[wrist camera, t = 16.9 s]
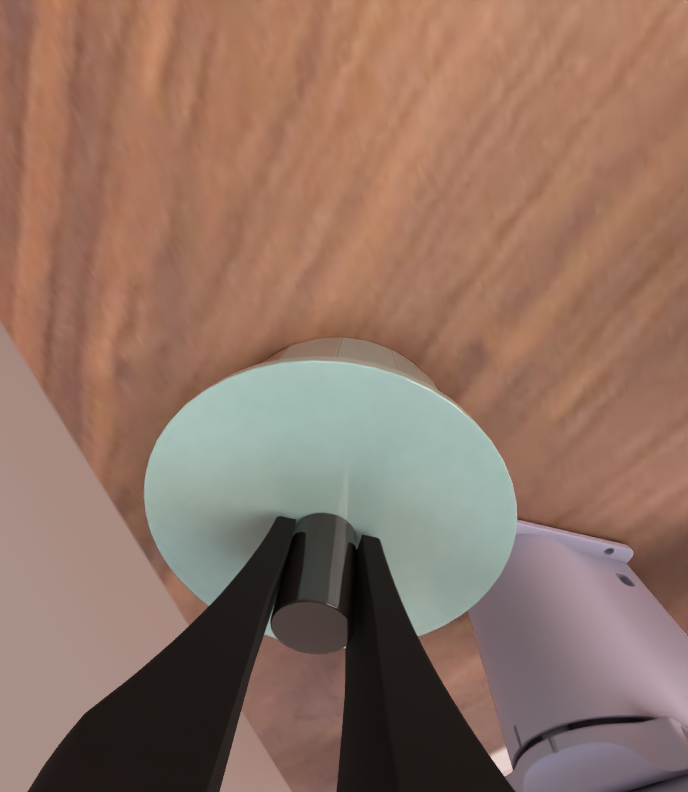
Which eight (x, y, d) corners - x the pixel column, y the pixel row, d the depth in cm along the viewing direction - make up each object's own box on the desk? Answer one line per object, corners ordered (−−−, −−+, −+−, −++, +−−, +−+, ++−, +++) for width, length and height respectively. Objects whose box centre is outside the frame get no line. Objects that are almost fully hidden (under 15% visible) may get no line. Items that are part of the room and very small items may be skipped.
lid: (576, 406, 11) (703, 497, 7) (433, 648, 16) (456, 778, 12) (160, 304, 10) (25, 336, 6) (159, 589, 16) (88, 704, 12)
